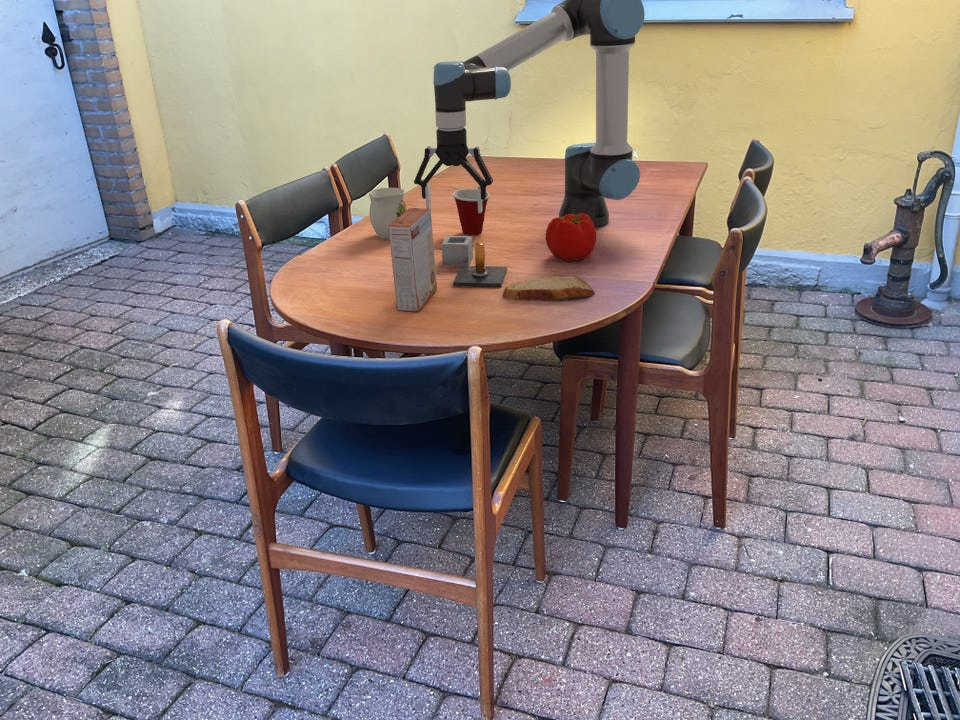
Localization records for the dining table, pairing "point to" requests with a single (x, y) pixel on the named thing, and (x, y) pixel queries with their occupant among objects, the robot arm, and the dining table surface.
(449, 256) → the hollow gray block
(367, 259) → the dining table surface
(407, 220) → the cracker box
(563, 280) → the bread slice
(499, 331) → the dining table surface
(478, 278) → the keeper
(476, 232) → the plastic cup
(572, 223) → the tomato
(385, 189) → the pitcher
